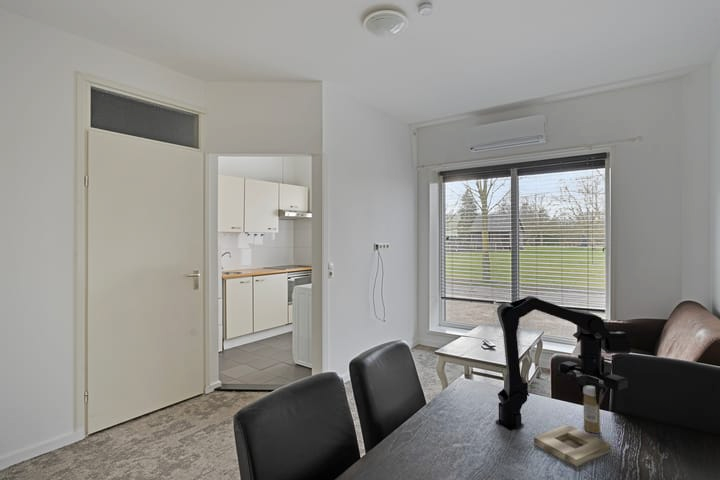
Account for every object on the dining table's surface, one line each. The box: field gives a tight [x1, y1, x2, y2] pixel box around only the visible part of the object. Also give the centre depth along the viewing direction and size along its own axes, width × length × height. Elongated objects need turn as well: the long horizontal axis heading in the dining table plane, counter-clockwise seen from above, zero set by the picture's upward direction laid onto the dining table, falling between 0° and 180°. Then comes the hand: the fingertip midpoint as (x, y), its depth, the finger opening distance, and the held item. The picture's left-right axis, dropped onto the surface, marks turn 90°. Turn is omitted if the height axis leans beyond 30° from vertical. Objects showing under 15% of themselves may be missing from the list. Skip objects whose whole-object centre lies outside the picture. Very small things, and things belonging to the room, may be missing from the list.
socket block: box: [533, 423, 612, 468], centre depth 108 cm, size 13×16×2 cm
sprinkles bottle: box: [583, 384, 601, 434], centre depth 117 cm, size 5×5×14 cm
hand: (591, 401), depth 117 cm, fingers closed on sprinkles bottle, 4 cm apart
